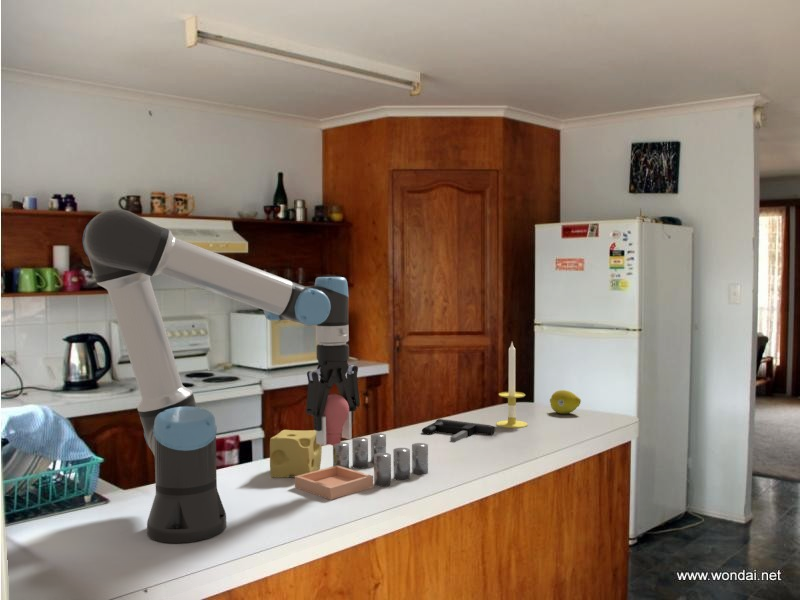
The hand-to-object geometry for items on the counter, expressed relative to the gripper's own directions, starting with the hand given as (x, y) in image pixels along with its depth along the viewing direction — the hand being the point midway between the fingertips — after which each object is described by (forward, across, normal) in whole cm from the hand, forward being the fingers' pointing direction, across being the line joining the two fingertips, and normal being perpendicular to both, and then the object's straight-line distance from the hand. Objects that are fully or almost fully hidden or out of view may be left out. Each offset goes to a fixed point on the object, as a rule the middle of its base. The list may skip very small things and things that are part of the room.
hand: (334, 440), depth 175 cm
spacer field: (+11, +16, +1) cm, 19 cm away
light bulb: (+1, 0, 0) cm, 1 cm away
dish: (+11, 0, 0) cm, 11 cm away
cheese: (+11, +1, +16) cm, 20 cm away
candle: (+12, +82, +9) cm, 83 cm away
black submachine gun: (+12, +59, +14) cm, 62 cm away
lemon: (+12, +108, +6) cm, 109 cm away
